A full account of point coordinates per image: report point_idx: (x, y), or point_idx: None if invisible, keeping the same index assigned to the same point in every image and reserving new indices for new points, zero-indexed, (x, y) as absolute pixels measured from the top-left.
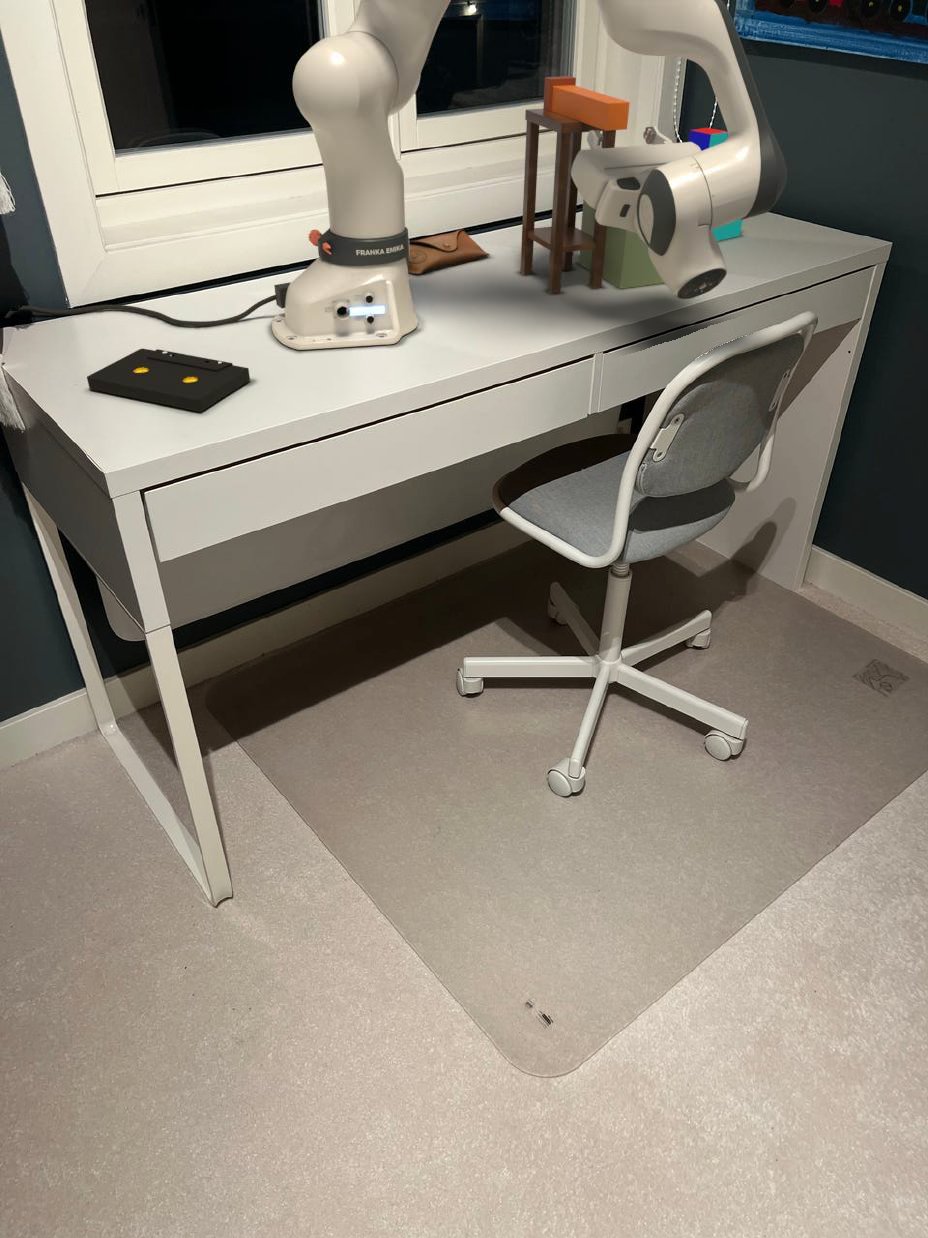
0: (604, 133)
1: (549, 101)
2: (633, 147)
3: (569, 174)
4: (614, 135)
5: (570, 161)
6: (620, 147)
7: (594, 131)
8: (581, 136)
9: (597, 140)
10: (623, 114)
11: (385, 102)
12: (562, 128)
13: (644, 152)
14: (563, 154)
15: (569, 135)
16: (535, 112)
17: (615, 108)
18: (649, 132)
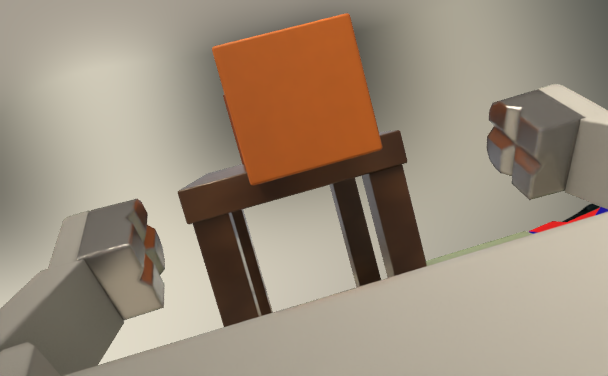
0: (367, 184)
1: (238, 143)
2: (351, 312)
3: (357, 280)
4: (401, 183)
5: (349, 254)
6: (178, 350)
7: (86, 218)
8: (358, 197)
9: (48, 291)
10: (332, 82)
11: None
12: (187, 207)
13: (516, 368)
14: (224, 284)
15: (226, 222)
16: (206, 175)
17: (269, 63)
18: (522, 128)
